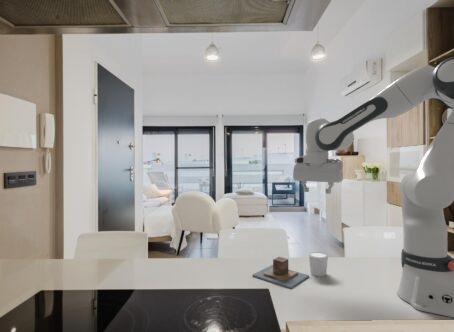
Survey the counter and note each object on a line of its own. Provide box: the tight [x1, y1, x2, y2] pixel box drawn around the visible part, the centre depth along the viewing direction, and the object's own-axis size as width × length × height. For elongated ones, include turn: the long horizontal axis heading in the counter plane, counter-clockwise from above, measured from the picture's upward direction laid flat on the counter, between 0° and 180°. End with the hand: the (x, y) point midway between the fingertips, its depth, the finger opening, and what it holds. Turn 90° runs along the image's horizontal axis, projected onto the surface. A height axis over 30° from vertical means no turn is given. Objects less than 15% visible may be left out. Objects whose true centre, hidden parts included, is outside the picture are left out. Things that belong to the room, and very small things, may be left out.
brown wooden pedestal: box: [264, 256, 298, 282], centre depth 106 cm, size 9×9×6 cm
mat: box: [252, 264, 310, 289], centre depth 106 cm, size 16×13×1 cm
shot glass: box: [308, 251, 329, 277], centre depth 109 cm, size 7×7×7 cm
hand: (317, 192), depth 119 cm, fingers open, 8 cm apart
